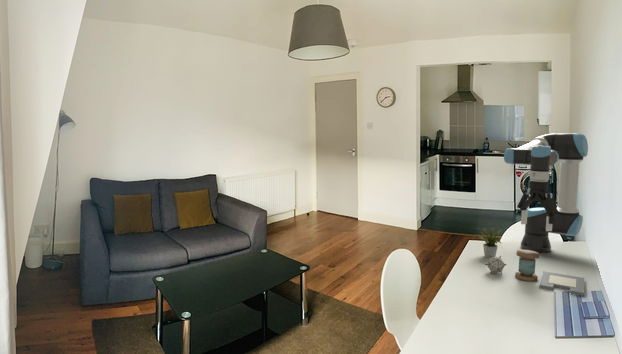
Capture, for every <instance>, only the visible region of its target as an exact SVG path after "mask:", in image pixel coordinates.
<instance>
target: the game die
mask: <svg viewBox="0 0 622 354" xmlns="http://www.w3.org/2000/svg"><path fill="white" fill-rule="evenodd" d="M489 256H490V255H489ZM501 257H502V255H500V256H495V257H491V256H490V258H489V259H488V260H487V263H485V264H484V265H485V266H487V267H488V269H489V271H490V275H491V274H492V273H500V274H501V275H503V270H504V268H505V266H507V263H505V262H504V261H503V259H502V258H501Z"/></svg>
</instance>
